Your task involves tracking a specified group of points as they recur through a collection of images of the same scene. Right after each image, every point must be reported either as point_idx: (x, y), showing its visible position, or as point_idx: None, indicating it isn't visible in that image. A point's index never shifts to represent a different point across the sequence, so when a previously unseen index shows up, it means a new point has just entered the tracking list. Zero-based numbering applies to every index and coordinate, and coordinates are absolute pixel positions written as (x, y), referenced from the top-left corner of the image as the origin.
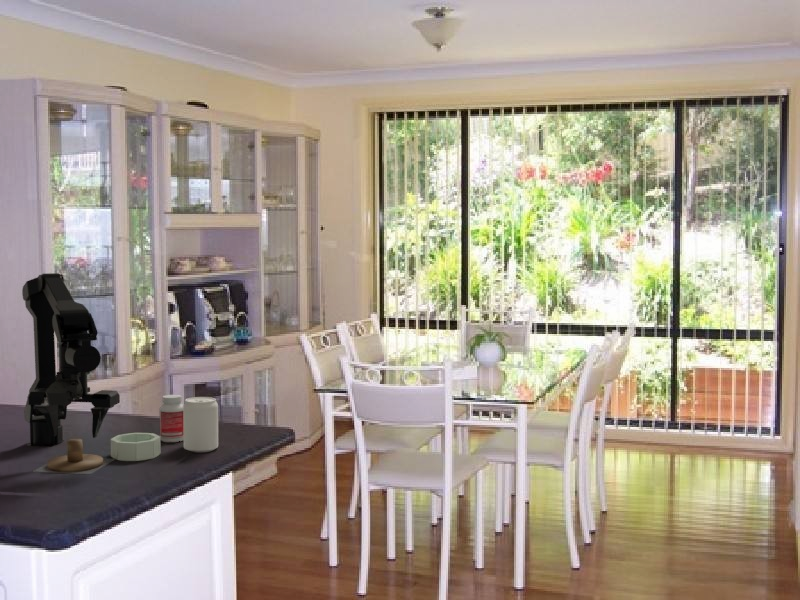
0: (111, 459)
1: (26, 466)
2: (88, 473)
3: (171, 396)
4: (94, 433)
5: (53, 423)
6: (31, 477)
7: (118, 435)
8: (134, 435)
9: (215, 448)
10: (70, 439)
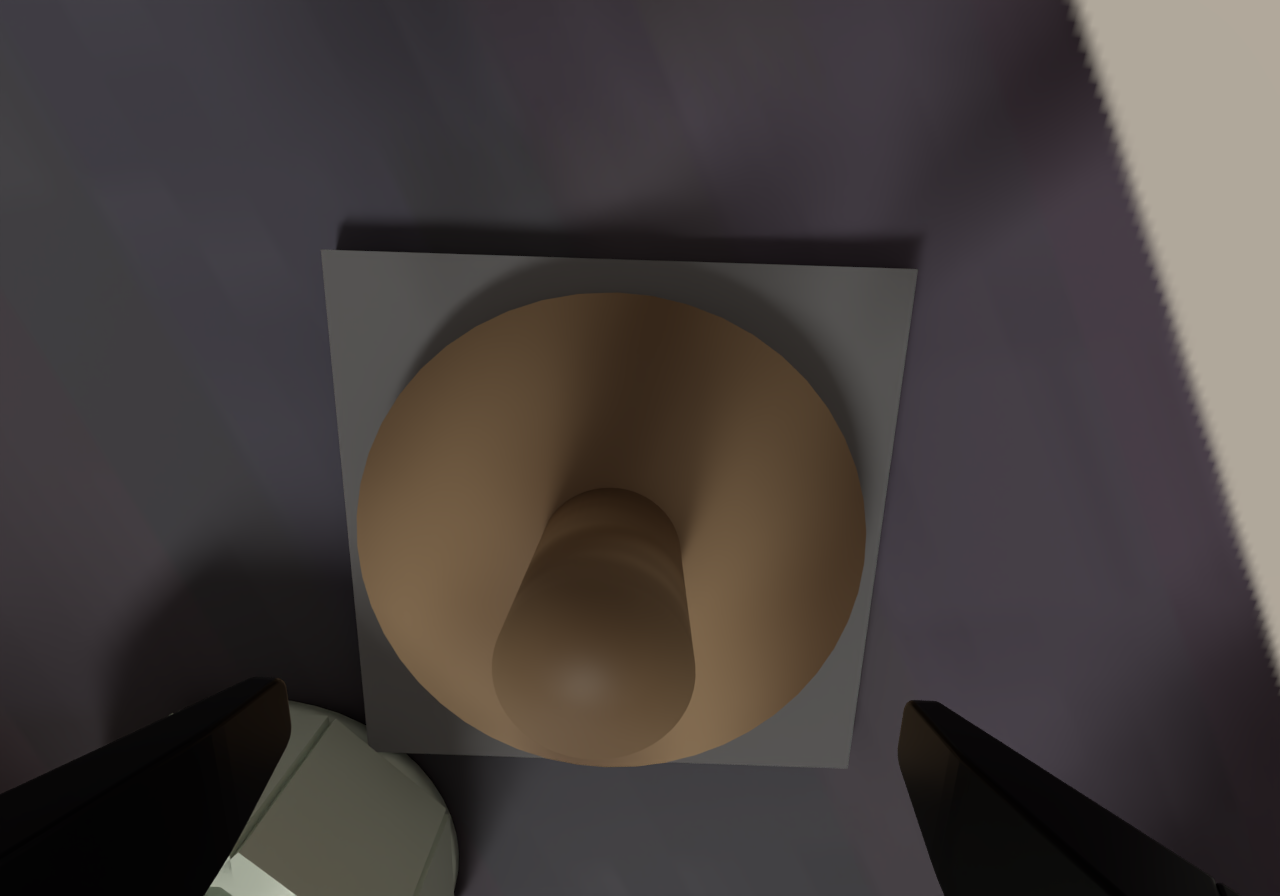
0: (394, 729)
1: (1052, 523)
2: (347, 266)
3: None
4: (195, 707)
5: (1041, 893)
6: (873, 164)
7: None
8: None
9: None
10: (674, 711)
